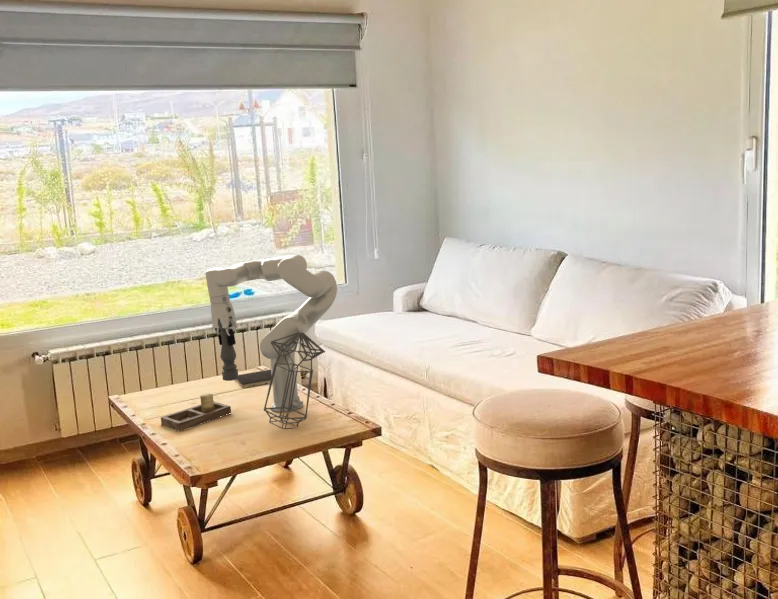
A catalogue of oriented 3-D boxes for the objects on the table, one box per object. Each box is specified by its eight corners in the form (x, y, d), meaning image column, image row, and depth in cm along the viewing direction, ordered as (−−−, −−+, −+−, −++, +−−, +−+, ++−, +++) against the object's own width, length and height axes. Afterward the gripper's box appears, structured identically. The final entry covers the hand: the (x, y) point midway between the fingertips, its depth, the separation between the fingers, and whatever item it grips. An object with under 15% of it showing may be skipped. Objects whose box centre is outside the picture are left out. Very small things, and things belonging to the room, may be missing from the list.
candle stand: (231, 413, 337) (229, 393, 335) (179, 431, 320) (177, 410, 319) (212, 408, 345) (210, 388, 344) (161, 424, 329) (159, 404, 327)
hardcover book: (294, 380, 378) (293, 375, 378) (242, 389, 370) (241, 384, 370) (284, 371, 393) (284, 366, 392) (234, 380, 385) (233, 375, 384)
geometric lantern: (280, 433, 305) (299, 336, 302) (252, 419, 315) (270, 326, 312) (313, 430, 317) (331, 337, 314) (285, 417, 327) (302, 327, 324)
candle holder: (233, 375, 348) (227, 314, 343) (241, 378, 343) (235, 316, 338) (219, 378, 344) (213, 317, 339) (227, 381, 339) (221, 319, 334)
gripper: (240, 297, 334) (248, 343, 337) (214, 296, 346) (222, 340, 349) (225, 302, 329) (233, 348, 332) (199, 301, 341) (207, 345, 344)
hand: (227, 344), depth 340 cm, fingers closed on candle holder, 5 cm apart
